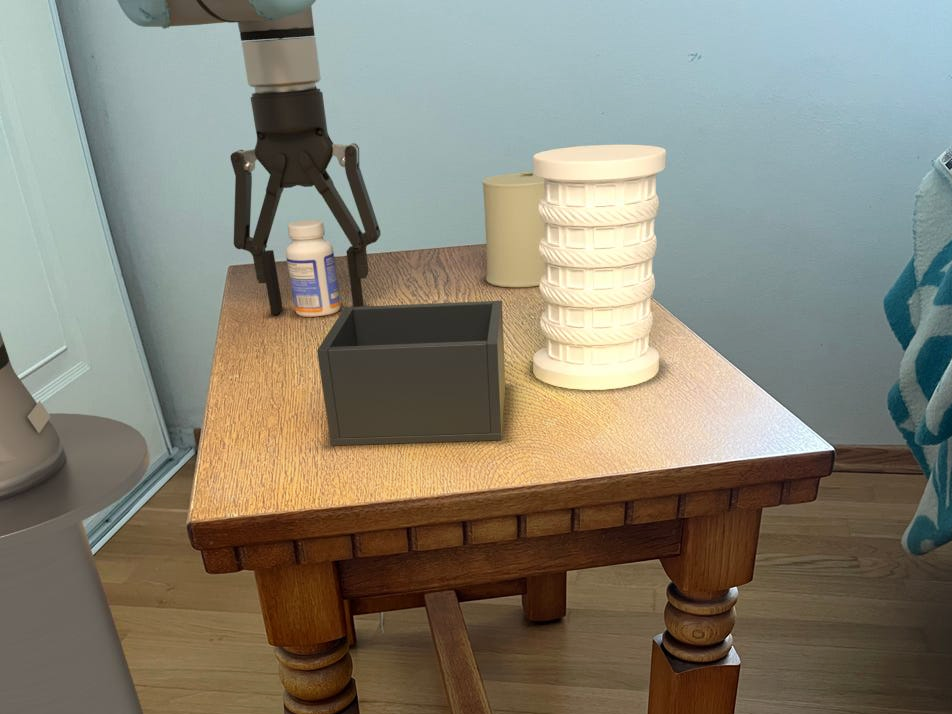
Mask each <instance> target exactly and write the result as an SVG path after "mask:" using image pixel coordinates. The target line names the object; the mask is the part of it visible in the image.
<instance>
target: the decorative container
mask: <svg viewBox="0 0 952 714" xmlns="http://www.w3.org/2000/svg"><path fill="white" fill-rule="evenodd" d="M666 157H667V151H666V148H663V147H661V146H656V145H648V144H647V145H646V144H625V143H624V144H593V145H592V144H591V145H579V146H577V145H576V146H570V147H561V148H553V149H549V150H544V151H539V152H537V153H535V154H534V155H533V157H532V162H533V163H532V165H533V166H532V167H533V173H534V174H535V175H536V176H538V177H541V178H544V197H543V198H541V199H540V202H539V206H538V211H539V215H540V219H541V220H542V221H544V229H545V236H544V237H543V238H541V241H540V245H539V252H540V258H541V259H542V260H543V261H544V262H545V275H544V276H542V278H541V282H540V286H538V287H539V292H540V297H541V298H542V299H543V300H544V301H545V302H544V303H545V304H544V306H545V308H544V309H545V310H544V311H543V312H542V313H541V317H540V321H539V327H540V330H541V334H542V335H543V336H544V338H545V346H543V347H541V348H540V349H538V350H537V351H536V352H535V353H534V354H533V358H532V371H533V372H532V373H533V374H534V376H535V378H537V379H538V380H539V381H541V382H542V383H545V384H548V385H551V386H554V387H559V388H563V389H570V390H583V391H604V390H612V389H613V390H615V389H622V388H626V387H627V388H628V387H631V386H636V385H640V384H643V383H644V382H647V381H649V380H650V379H652V378H654V377H656V375H657V374H658V372H659V371H660V370H659V368H660V352H659V351H658V350H657V349H656V348H655V347H653V346H651V345H649V343H650V341H649V339H650V333H651V332H652V329H653V324H654V316H653V311H652V310H651V301H652V298H651V297H652V295H653V294H654V290H655V287H656V280H655V275H654V273H653V257H654V256H656V251H657V249H658V241H657V236H656V234H655V217H656V216H658V211H659V208H660V201H659V196H658V193H657V175H658V173H660V172H662V171H664V170H665V169H666Z"/></svg>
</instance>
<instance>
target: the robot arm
mask: <svg viewBox="0 0 952 714" xmlns="http://www.w3.org/2000/svg"><path fill="white" fill-rule="evenodd" d="M316 1H317V0H117V3H118V5H119V7H120V8H121V10H122V12H123V14H124V15H125V16H126V17H127V18H128V20H130V21H131V22H132V23H133V24H135V25H137V26H139V27H143V28H144V27H145V28H152V27H153V28H162V29H163V30H165V29H169V28H170V27H184V26H185V27H187V26H201V25H210V24H211V25H213V24H222V23H229V24H230V23H233V24H234V23H237V26H238V32H239V38H240V41H241V48H242V54H243V60H244V67H245V73H246V80H247V85H249V87H250V88H251V87H252V88H254V92H252V93H251V96H250V98H249V99H250V103H251V110H252V114H253V115H252V116H253V122H254V128H255V134H256V145H255V147H254V148H252V149H247V150H244V149H238V150H236V151H234V152H232V153H231V154H230V158H229V159H230V163H231V166H232V169H233V174H234V177H235V178H234V179H235V181H234V183H235V184H234V213H233V214H234V216H233V246H234V248H235V249H237V250H243V251H246V252H249V253H250V254H251V256H252V258H253V265H254V270H255V276H256V280H257V282H258V284H265V285H266V286H265V287H266V291H267V298H268V303H269V308H270V309H269V310H270V314H271V315H278V314H280V312H281V311H282V310H283V302H282V301H283V300H282V294H281V288H280V283H279V277H278V276H279V275H278V271H277V270H278V269H277V265H276V258H275V253H274V250H273V249H269V250H268V249H267V247H268V245H267V244H268V241H269V238H270V234H271V231H272V227H273V225H274V221H275V220H274V219H275V217H276V214H277V210H278V207H279V203H280V200H281V196H282V193H283V192H284V189H291V188H293V187H296V186H300V187H303V188H307V187H308V188H309V187H310V188H311V187H314V188H315V189H316V191H317V192H318V194H320V196H321V197H322V199H323V200H324V202H325V204H326V205H327V207H328V209H329V211H330V212H331V213H332V215H333V217H334V218H335V220H336V221H337V223H338V225H339V227H340V228H341V230H342V231H343V233H344V235H345V237H346V238H347V240H348V241H349V243H350V244H351V246H349V247H348V248H347V250H346V259H347V267H348V276H349V284H350V290H351V300H352V307H362V306H364V296H363V287H362V281H361V280H362V279H366V278H367V277H368V276H369V262H368V253H367V252H368V251H367V246H369V245H372V244H374V243H376V242H377V241H378V240H379V239H380V237H381V234H382V233H381V229H380V226H379V222H378V220H377V219H378V218H377V217H376V214H375V211H374V207H373V205H372V202H371V199H370V195H369V192H368V188H367V185H366V183H365V179H364V177H363V174H362V170H361V168H360V147H359V145H358V144H357V143H350V144H339V143H338V144H337V143H334V142H333V140H332V139H331V136H330V135H329V132H328V125H327V118H326V117H327V116H326V108H325V102H324V94H323V93H324V92H323V91H321V89H320V88H319V87H318V88H317V84H316V83H320V81H321V79H322V78H321V70H320V62H319V55H318V46H317V39H316V37H315V36H316V35H315V26H314V25H315V24H314V17H313V8H312V7H313V5H314V4H315V3H316ZM333 157H335V158H337V161H338V164H339V166H341V167H342V168H344V171H345V175H346V179H347V182H348V185H349V188H350V190H351V194H352V197H353V200H354V202H355V206H356V209H357V212H358V215H359V218H360V221H361V224H362V226H363V227H362V228H363V230H364V232H363V231H362V230H361V228H360V226H359V224H358V223H357V221H356V220H355V218H354V216H353V215H352V213H351V210H350V209H349V208H348V206H347V205H346V203H345V201H344V200H343V198H342V196H341V194H340V193H339V191H338V190H337V188H336V186H335V184H334V181H333V178H331V176H330V174H329V172H328V170H327V168H328V166H329V164H330V162H331V160H332V158H333ZM256 161H258V162H259V163H260V164H261V165H262V167H263V168H264V170H265V171H266V172H267V173H268V174H269V178H268V181H267V183H266V188H265V195H264V199H263V202H262V205H261V209H260V212H259V216H258V219H257V223H256V226H255V230H254V233H253V237H252V236H251V216H252V215H251V213H252V212H251V211H252V191H253V190H252V186H253V175H252V172H253V171H254V170H255V169H256ZM49 414H50V413H49V412H48V410H47V409H46V408H45V406H44V405H43V403H42V402H41V400H39V401H38V402H37V401H36V400H35V397H33V396H32V394H31V393H30V391H29V390H28V389H27V387H26V386H25V384H24V383H23V382H22V380H21V378H20V377H19V376H18V374H17V373H16V372H15V370H14V367H13V365H12V363H11V360H10V357H9V353H8V350H7V348H6V345H5V342H4V339H3V335H2V331H0V501H1V500H4V499H7V498H9V497H12V496H15V495H17V494H20V493H22V492H25V491H27V490H29V489H31V488H33V487H35V486H37V485H39V484H41V483H42V482H44V481H46V480H47V479H49V478H50V477H51V476H53V475H54V474H55V473H56V472H57V471H58V470H59V469H60V468H61V467H62V465H63V464H64V462H65V458H66V457H65V452H64V449H63V446H62V443H61V440H60V437H59V435H58V434H57V432H56V430H55V428H54V426H53V425H52V424H51V423H50V422H49V418H50V415H49Z"/></svg>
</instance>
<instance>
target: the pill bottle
mask: <svg viewBox="0 0 952 714" xmlns="http://www.w3.org/2000/svg"><path fill="white" fill-rule="evenodd" d="M287 231H288V232H287V233H288V236H289V239H290V240H291V243H289V244H288V245H287V246H286V248H285V257H286V264H287V271H288V276H289V283H290V289H291V295H292V302H293V307H294V310H295V313H296V314H297V315H298V316H301V317H305V318H308V317H309V318H313V317H314V318H316V317H325V316H329V315H333V314H335V313H337V312H339V311H340V309H341V296H340V290H339V283H338V275H337V267H336V261H335V254H334V248H333V245H332V244H331V242H330V241H328V240H325V239H324V237H325V233H326V231H325V226H324V222H323V221H322V220H321V219H301V220H295V221H292V222H289V223H288V224H287Z"/></svg>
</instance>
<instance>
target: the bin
mask: <svg viewBox="0 0 952 714" xmlns="http://www.w3.org/2000/svg"><path fill="white" fill-rule="evenodd" d="M503 314H504V313H503V300H484V301H483V300H482V301H480V300H479V301H460V302H459V301H458V302H457V301H456V302H438V303H437V302H435V303H414V304H410V303H409V304H390V305H386V304H385V305H365V306H364V305H363V306H362V307H353V306H345V307H344V308H343V310H342V311H341V312H340V314H339V316H338V317H337V319H336V321H335V322H334V323H333V325H332V326H331V328H330V329H329V331H328V333H327V335H326V336H325V337H324V339H323V341H322V342H321V343H320V345H319V346H318V348H317V349H316V354H317V360H318V366H319V374H320V381H321V387H322V394H323V400H324V406H325V407H324V408H325V414H326V421H327V427H328V435H329V440H330V445H331V446H335V447H336V446H361V445H364V446H365V445H366V446H367V445H392V444H395V445H397V444H421V443H422V444H424V443H453V442H483V441H484V442H488V441H502V439H503V424H504V411H505V410H504V409H505V396H506V369H505V366H506V365H505V343H504V342H505V341H504V339H505V338H504V317H503V316H504V315H503Z"/></svg>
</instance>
